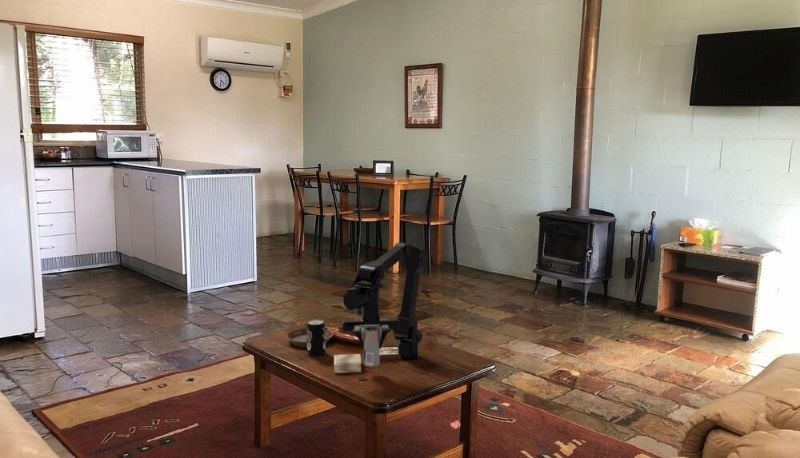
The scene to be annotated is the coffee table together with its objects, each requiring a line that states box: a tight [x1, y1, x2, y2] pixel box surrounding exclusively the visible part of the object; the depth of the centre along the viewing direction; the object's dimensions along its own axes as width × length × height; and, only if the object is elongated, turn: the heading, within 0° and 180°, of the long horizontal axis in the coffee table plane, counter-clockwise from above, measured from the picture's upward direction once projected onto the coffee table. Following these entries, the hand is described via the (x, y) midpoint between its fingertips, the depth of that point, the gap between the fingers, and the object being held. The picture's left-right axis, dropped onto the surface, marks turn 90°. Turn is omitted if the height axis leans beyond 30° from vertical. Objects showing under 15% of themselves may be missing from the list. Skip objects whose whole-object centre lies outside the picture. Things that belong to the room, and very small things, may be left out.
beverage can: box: [306, 319, 326, 357], centre depth 228 cm, size 7×7×12 cm
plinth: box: [333, 353, 362, 374], centre depth 215 cm, size 9×9×3 cm
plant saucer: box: [285, 327, 333, 348], centre depth 242 cm, size 18×18×3 cm
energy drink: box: [362, 326, 381, 367], centre depth 207 cm, size 5×5×12 cm
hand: (371, 348), depth 208 cm, fingers closed on energy drink, 5 cm apart
